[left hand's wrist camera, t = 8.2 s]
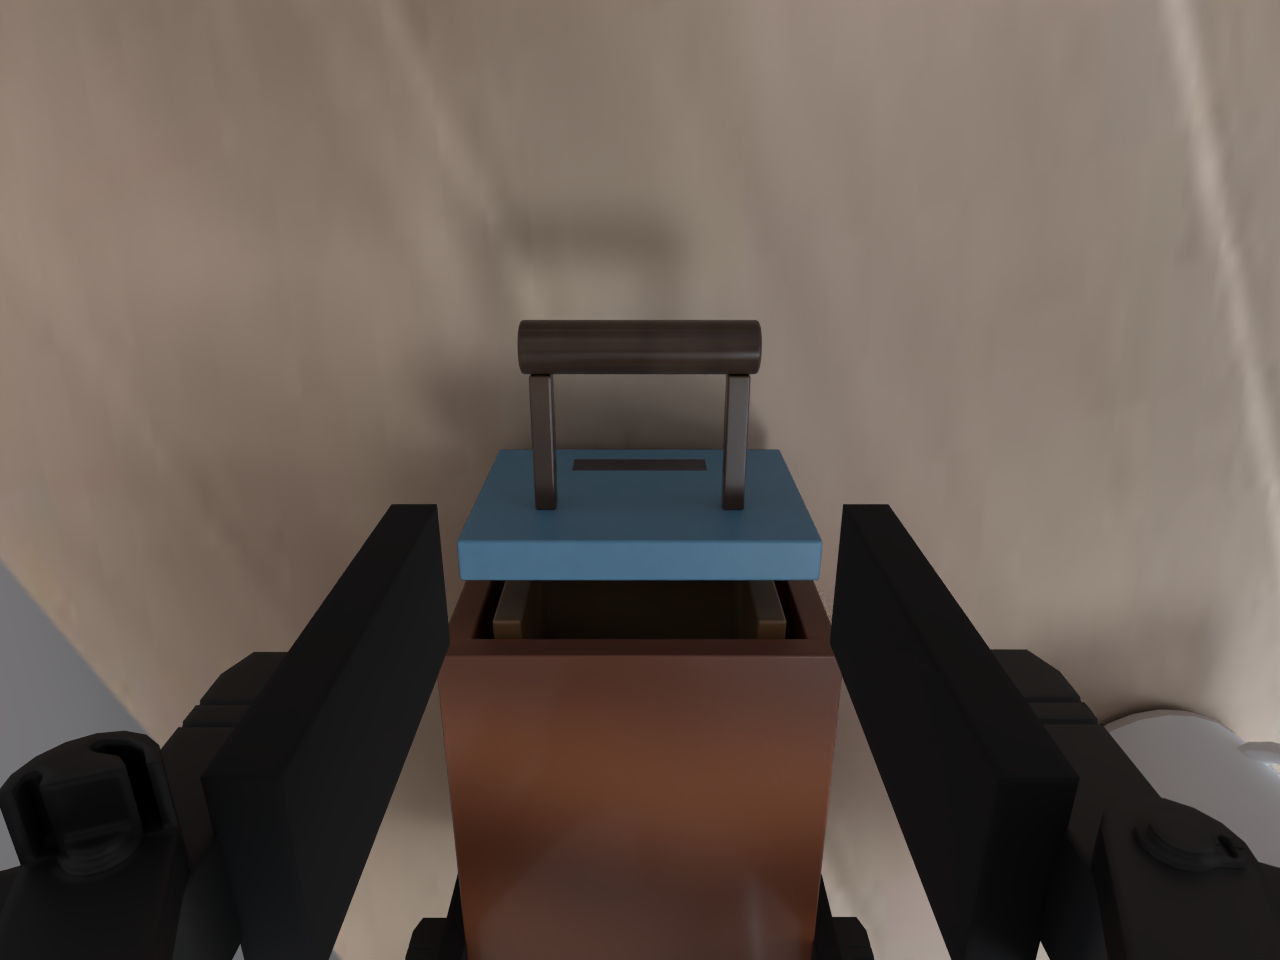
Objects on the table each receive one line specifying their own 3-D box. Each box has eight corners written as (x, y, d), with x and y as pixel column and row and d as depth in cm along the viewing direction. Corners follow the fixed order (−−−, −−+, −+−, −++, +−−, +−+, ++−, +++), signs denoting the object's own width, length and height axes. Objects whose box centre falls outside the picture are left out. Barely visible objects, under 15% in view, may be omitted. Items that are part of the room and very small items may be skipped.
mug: (1162, 893, 37) (1345, 1154, 27) (994, 825, 35) (1125, 1075, 26) (1339, 707, 33) (1623, 933, 24) (1159, 623, 32) (1384, 827, 22)
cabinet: (491, 515, 30) (433, 655, 22) (787, 515, 30) (845, 654, 22) (513, 832, 36) (475, 1042, 27) (765, 832, 36) (804, 1042, 27)
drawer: (489, 291, 26) (437, 338, 20) (790, 291, 26) (841, 338, 20) (520, 771, 33) (490, 927, 27) (758, 771, 33) (788, 927, 27)
